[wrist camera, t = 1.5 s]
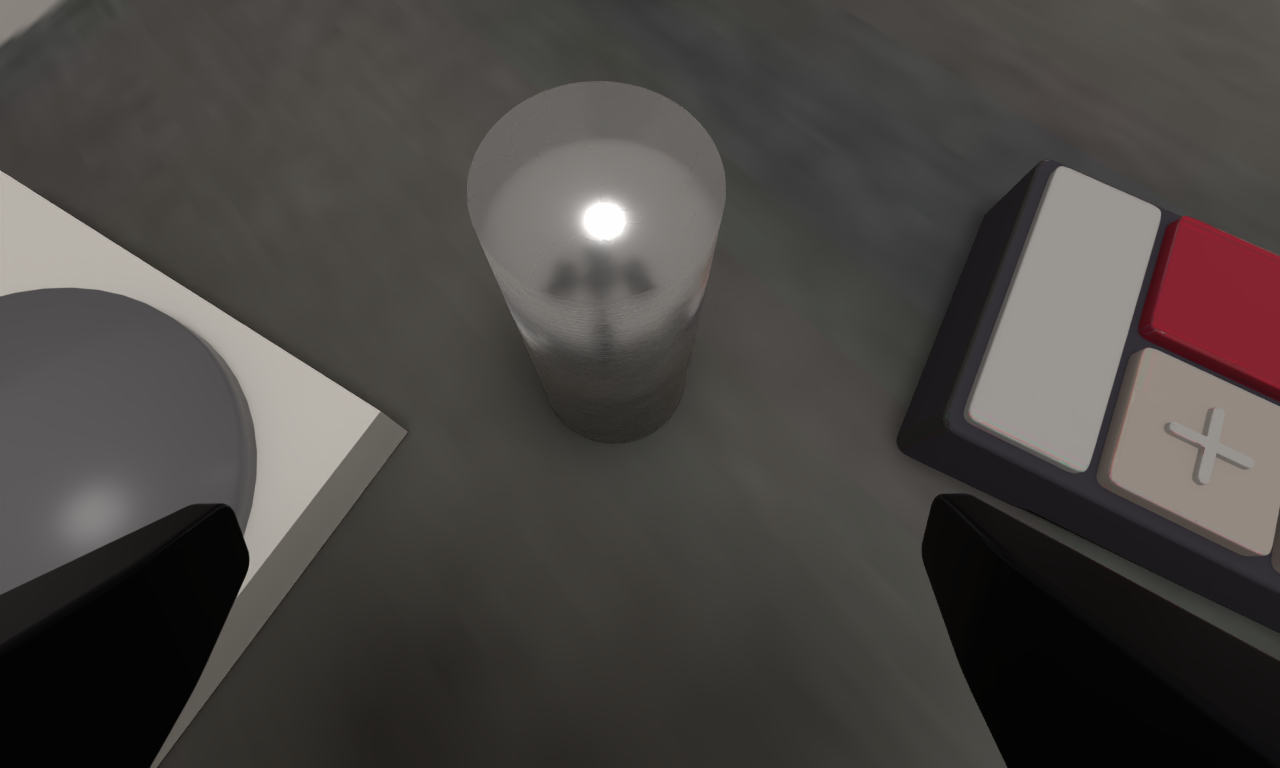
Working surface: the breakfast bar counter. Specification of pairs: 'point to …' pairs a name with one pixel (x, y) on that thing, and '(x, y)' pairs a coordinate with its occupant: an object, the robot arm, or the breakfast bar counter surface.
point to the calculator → (1117, 383)
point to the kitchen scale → (159, 421)
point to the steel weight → (601, 246)
